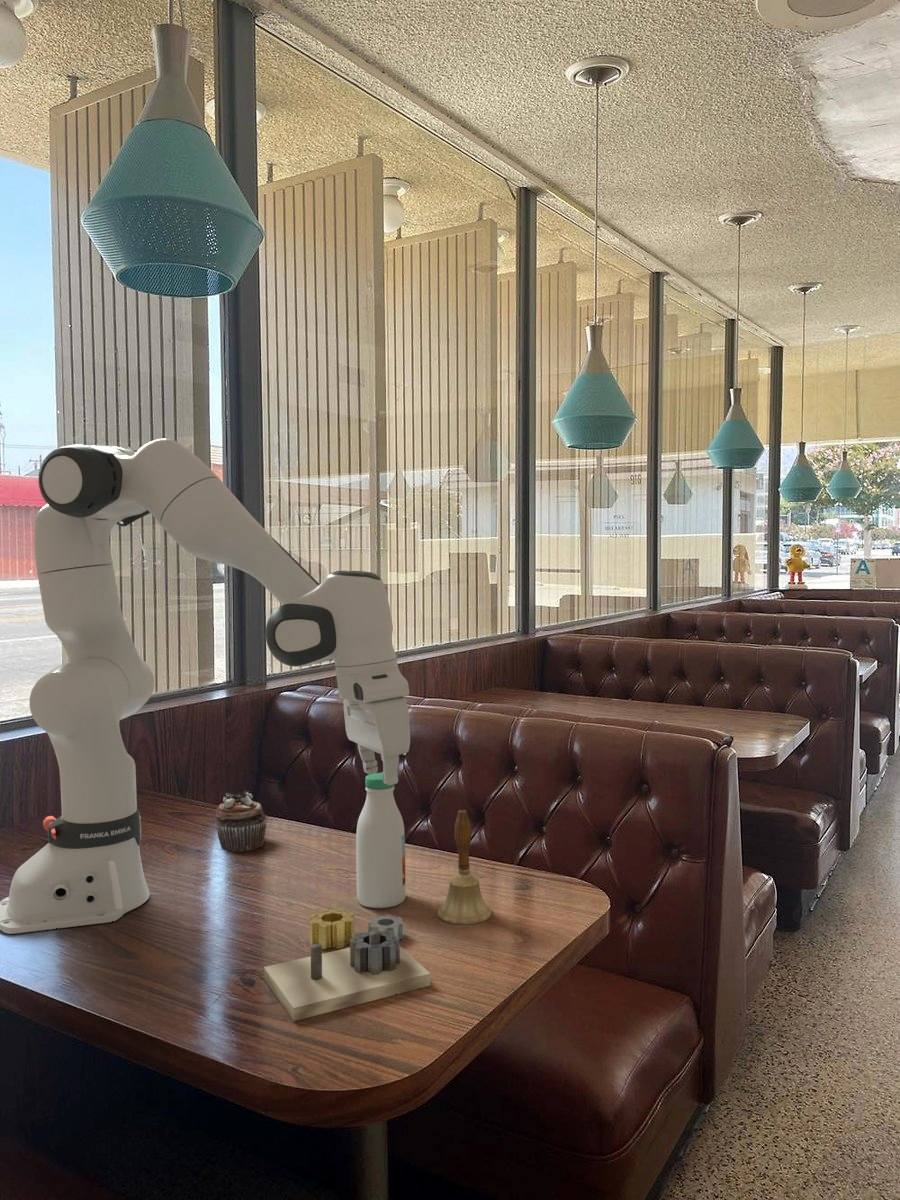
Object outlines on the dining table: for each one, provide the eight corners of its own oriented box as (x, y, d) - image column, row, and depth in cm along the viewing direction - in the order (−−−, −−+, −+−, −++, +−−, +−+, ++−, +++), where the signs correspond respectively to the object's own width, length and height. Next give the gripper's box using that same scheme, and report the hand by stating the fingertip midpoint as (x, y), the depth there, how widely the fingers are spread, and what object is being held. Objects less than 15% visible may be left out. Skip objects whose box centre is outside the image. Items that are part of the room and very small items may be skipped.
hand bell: (474, 929, 132) (473, 821, 131) (426, 917, 136) (425, 813, 135) (501, 909, 139) (501, 807, 138) (455, 899, 143) (455, 800, 142)
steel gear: (375, 979, 113) (375, 954, 113) (340, 965, 117) (339, 941, 117) (409, 961, 118) (409, 937, 118) (374, 948, 122) (374, 925, 122)
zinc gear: (381, 947, 126) (380, 932, 125) (361, 936, 130) (361, 921, 129) (410, 938, 129) (410, 923, 129) (390, 926, 133) (390, 912, 132)
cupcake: (224, 856, 164) (223, 802, 164) (210, 842, 173) (208, 790, 172) (274, 847, 169) (274, 794, 168) (258, 833, 177) (257, 783, 177)
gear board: (293, 1021, 106) (292, 974, 106) (264, 979, 117) (263, 936, 116) (430, 985, 115) (429, 942, 114) (391, 949, 125) (390, 909, 125)
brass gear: (318, 953, 124) (318, 930, 124) (303, 935, 130) (303, 914, 130) (361, 943, 127) (361, 921, 127) (345, 926, 133) (344, 905, 133)
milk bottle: (398, 911, 138) (397, 782, 137) (350, 907, 140) (348, 780, 139) (410, 892, 146) (409, 770, 145) (365, 889, 147) (363, 768, 146)
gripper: (329, 681, 137) (340, 771, 137) (367, 691, 118) (380, 795, 118) (368, 674, 139) (380, 763, 140) (412, 683, 120) (425, 785, 121)
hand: (380, 778), depth 129 cm, fingers open, 8 cm apart
